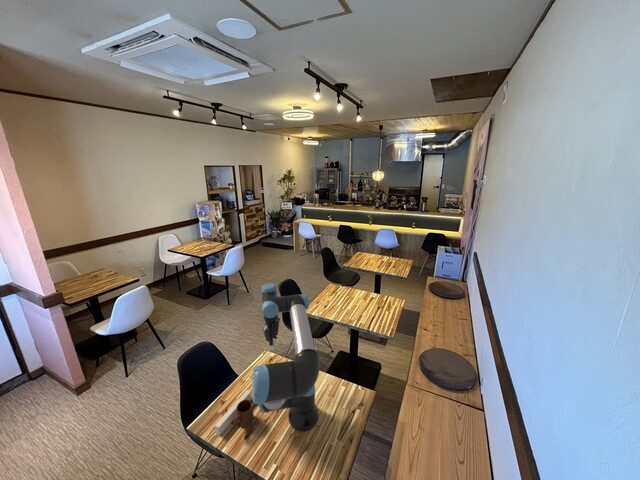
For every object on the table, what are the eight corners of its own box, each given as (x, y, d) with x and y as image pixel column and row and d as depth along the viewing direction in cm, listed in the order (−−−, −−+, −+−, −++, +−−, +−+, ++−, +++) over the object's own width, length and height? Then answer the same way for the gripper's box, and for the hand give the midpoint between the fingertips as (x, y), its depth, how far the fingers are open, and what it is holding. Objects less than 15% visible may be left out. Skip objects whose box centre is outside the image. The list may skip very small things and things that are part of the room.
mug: (242, 439, 120) (240, 424, 117) (228, 433, 122) (226, 418, 119) (256, 416, 131) (255, 401, 128) (243, 411, 133) (242, 397, 130)
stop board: (251, 398, 140) (250, 391, 138) (219, 435, 121) (218, 427, 120) (247, 397, 141) (247, 389, 140) (215, 433, 122) (214, 425, 121)
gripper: (272, 304, 143) (274, 339, 150) (256, 316, 131) (259, 354, 138) (283, 307, 139) (285, 343, 146) (268, 320, 128) (271, 358, 135)
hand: (272, 348), depth 142 cm, fingers closed
